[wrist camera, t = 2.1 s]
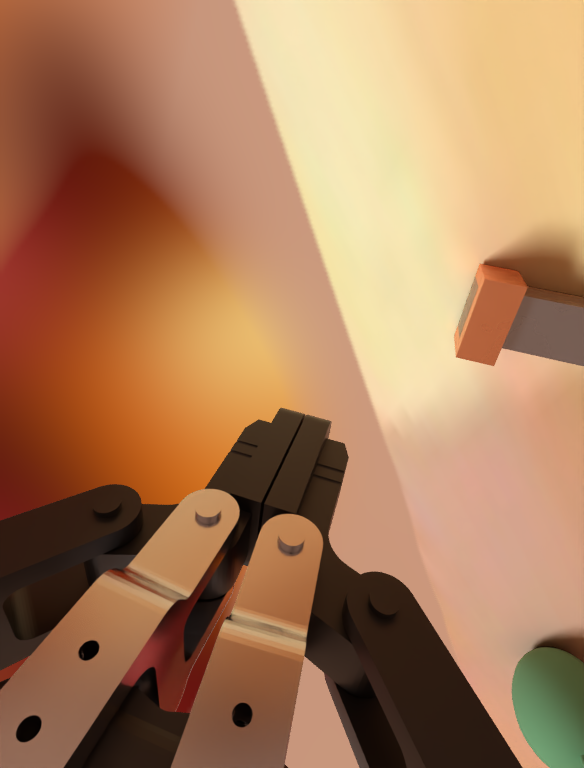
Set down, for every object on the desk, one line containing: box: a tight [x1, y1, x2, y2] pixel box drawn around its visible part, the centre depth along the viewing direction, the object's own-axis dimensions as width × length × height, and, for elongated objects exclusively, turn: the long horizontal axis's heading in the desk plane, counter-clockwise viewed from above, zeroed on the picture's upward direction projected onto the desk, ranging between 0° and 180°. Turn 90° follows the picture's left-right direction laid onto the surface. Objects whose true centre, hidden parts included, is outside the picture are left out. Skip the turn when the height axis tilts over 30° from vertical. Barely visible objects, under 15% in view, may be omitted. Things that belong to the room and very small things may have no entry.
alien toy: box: [512, 647, 584, 768], centre depth 33 cm, size 7×8×10 cm
